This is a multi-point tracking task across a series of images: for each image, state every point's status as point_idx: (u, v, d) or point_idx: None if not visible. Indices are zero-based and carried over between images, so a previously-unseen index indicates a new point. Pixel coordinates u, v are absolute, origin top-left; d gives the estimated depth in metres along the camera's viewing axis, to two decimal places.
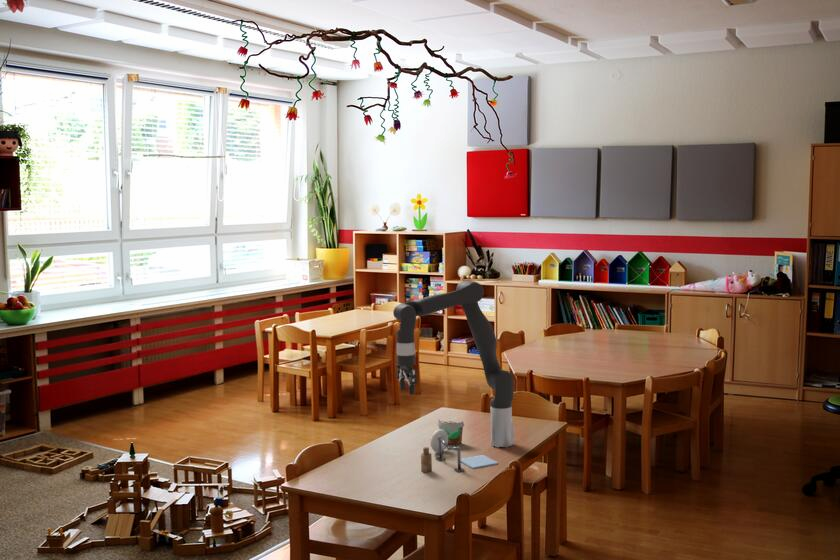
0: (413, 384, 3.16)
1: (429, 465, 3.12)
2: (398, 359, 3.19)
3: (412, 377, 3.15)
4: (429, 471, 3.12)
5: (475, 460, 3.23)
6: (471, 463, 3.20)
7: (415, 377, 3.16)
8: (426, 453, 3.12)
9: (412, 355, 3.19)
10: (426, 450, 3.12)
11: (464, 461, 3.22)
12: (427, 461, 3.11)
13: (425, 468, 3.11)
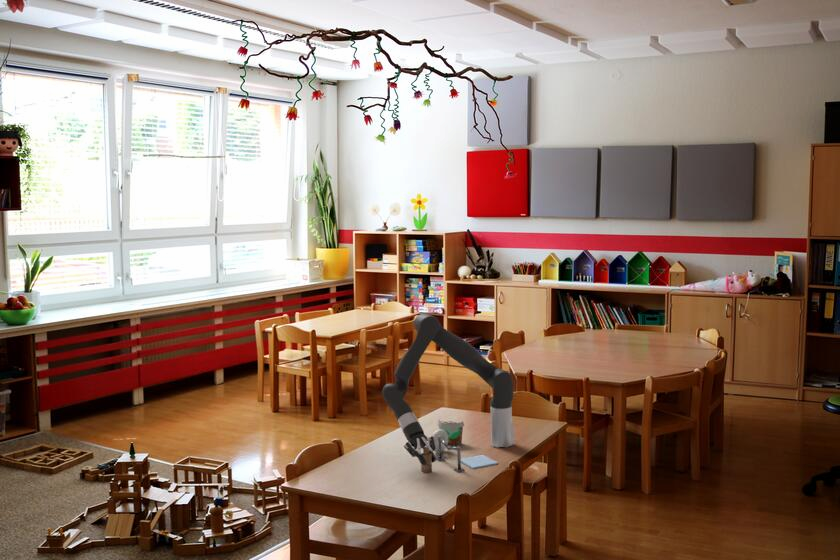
0: (413, 455, 3.11)
1: (429, 465, 3.12)
2: None
3: (408, 451, 3.12)
4: (429, 471, 3.12)
5: (475, 460, 3.23)
6: (471, 463, 3.20)
7: (410, 449, 3.11)
8: (426, 453, 3.12)
9: (405, 427, 3.17)
10: (426, 450, 3.12)
11: (464, 461, 3.22)
12: (427, 461, 3.11)
13: (425, 468, 3.11)
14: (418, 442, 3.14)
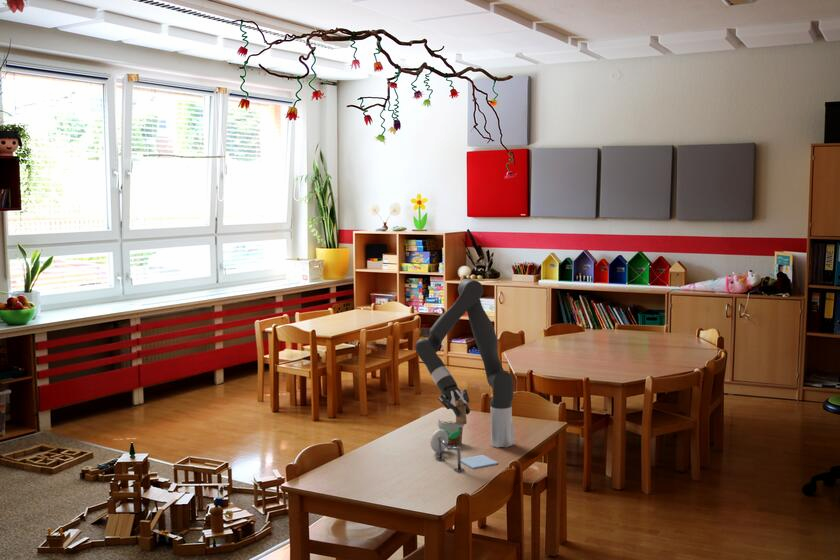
0: (448, 407, 3.16)
1: (464, 417, 3.16)
2: None
3: (443, 403, 3.17)
4: (464, 423, 3.16)
5: (475, 460, 3.23)
6: (471, 463, 3.20)
7: (445, 402, 3.16)
8: (460, 405, 3.16)
9: (438, 381, 3.22)
10: (460, 402, 3.16)
11: (464, 461, 3.22)
12: (461, 413, 3.16)
13: (460, 419, 3.16)
14: (452, 395, 3.18)
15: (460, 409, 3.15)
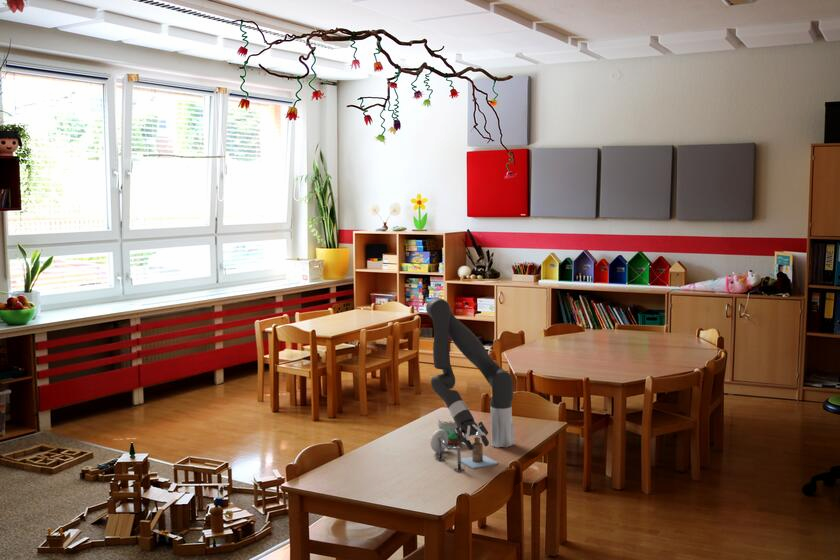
0: (461, 441, 3.20)
1: (480, 455, 3.21)
2: None
3: (457, 436, 3.21)
4: (480, 460, 3.21)
5: None
6: (471, 463, 3.20)
7: (458, 434, 3.20)
8: (477, 443, 3.21)
9: (456, 415, 3.26)
10: (477, 440, 3.21)
11: (464, 461, 3.22)
12: (478, 451, 3.20)
13: (476, 457, 3.21)
14: (469, 429, 3.23)
15: (477, 447, 3.20)
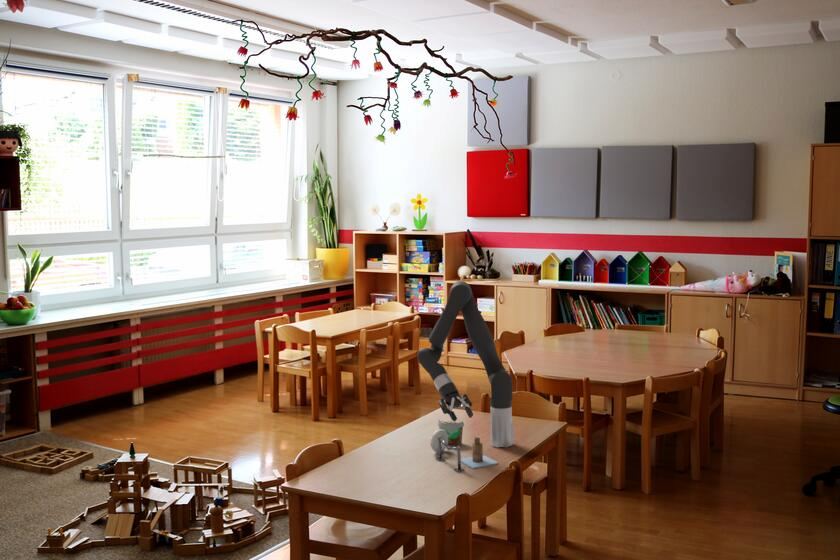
0: (445, 412, 3.27)
1: (480, 455, 3.21)
2: None
3: (441, 407, 3.28)
4: (480, 460, 3.21)
5: None
6: (471, 463, 3.20)
7: (443, 405, 3.27)
8: (477, 443, 3.21)
9: (440, 387, 3.33)
10: (477, 440, 3.21)
11: (464, 461, 3.22)
12: (478, 451, 3.20)
13: (476, 457, 3.21)
14: (454, 401, 3.30)
15: (477, 447, 3.20)
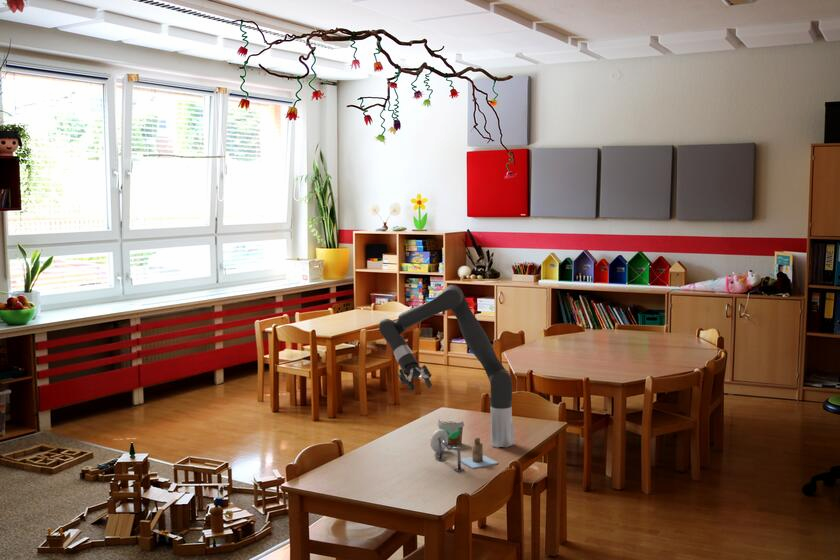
0: (403, 382, 3.30)
1: (480, 455, 3.21)
2: None
3: (400, 377, 3.31)
4: (480, 460, 3.21)
5: None
6: (471, 463, 3.20)
7: (401, 376, 3.30)
8: (477, 443, 3.21)
9: (400, 358, 3.36)
10: (477, 440, 3.21)
11: (464, 461, 3.22)
12: (478, 451, 3.20)
13: (476, 457, 3.21)
14: (412, 372, 3.33)
15: (477, 447, 3.20)
